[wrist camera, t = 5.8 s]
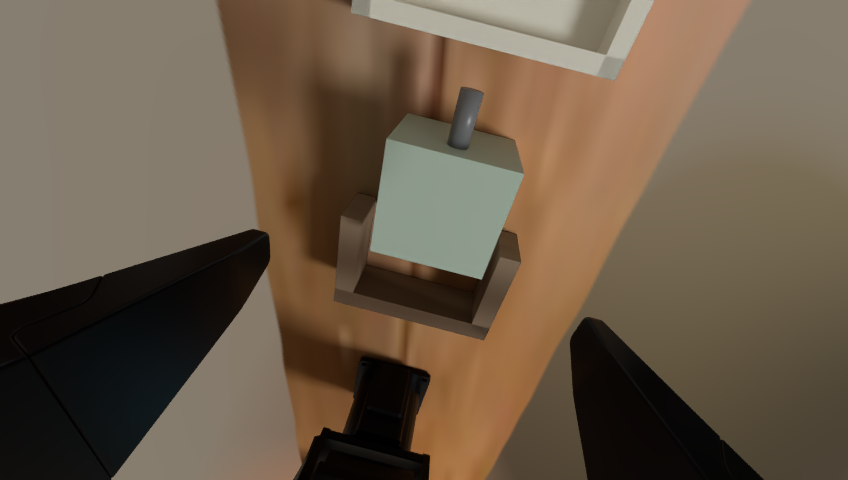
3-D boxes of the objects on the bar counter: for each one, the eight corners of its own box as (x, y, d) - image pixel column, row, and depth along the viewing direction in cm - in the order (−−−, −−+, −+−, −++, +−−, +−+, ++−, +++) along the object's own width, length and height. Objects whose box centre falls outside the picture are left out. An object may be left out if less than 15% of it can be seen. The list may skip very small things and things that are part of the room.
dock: (483, 308, 25) (483, 340, 23) (348, 273, 25) (333, 301, 23) (516, 234, 21) (521, 262, 19) (357, 192, 21) (340, 215, 19)
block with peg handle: (481, 230, 22) (481, 279, 18) (391, 207, 22) (370, 250, 18) (531, 93, 17) (547, 116, 13) (416, 64, 17) (395, 77, 13)
